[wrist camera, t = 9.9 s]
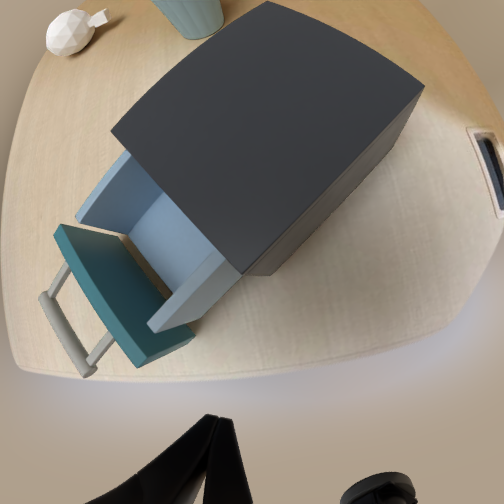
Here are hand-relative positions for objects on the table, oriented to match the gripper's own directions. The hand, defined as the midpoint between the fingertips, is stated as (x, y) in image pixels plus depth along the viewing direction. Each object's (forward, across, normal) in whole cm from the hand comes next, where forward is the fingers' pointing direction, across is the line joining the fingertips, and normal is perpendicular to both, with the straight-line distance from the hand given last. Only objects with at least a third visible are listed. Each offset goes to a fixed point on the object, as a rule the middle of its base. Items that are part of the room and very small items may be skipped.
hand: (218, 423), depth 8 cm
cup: (+25, +12, -26) cm, 38 cm away
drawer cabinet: (+17, 0, -9) cm, 20 cm away
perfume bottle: (+29, +34, -29) cm, 53 cm away
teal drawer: (+15, +7, 0) cm, 16 cm away
